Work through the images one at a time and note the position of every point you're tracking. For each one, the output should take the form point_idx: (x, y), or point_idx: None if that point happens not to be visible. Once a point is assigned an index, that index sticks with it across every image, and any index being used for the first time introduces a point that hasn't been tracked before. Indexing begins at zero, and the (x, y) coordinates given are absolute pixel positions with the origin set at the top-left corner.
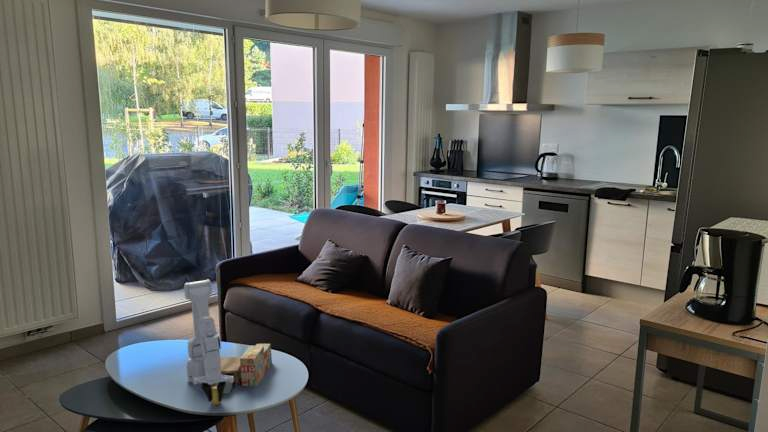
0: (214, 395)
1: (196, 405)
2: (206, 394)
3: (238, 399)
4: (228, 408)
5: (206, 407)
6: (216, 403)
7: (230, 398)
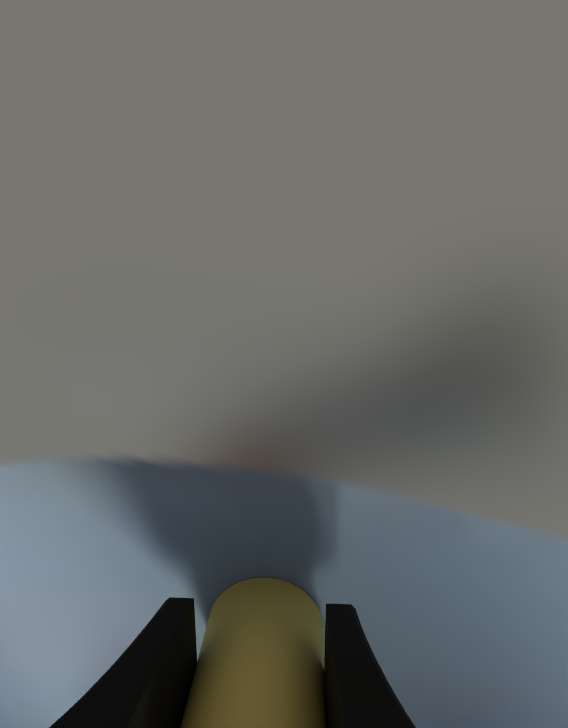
0: (253, 705)
1: (536, 597)
2: (394, 716)
3: (6, 672)
4: (54, 476)
5: (378, 532)
6: (248, 592)
7: None
